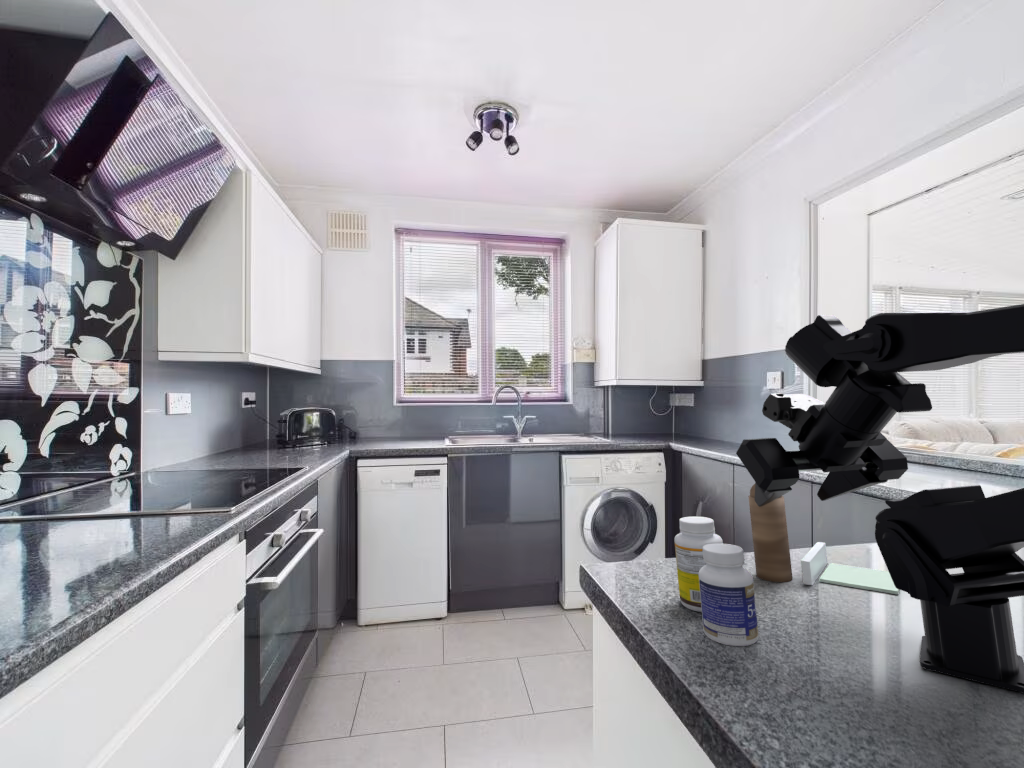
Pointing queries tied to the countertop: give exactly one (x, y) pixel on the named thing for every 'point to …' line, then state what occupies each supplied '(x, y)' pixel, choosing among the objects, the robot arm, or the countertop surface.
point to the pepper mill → (770, 539)
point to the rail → (814, 563)
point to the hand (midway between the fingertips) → (789, 500)
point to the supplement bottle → (692, 557)
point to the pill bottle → (727, 596)
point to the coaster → (859, 578)
